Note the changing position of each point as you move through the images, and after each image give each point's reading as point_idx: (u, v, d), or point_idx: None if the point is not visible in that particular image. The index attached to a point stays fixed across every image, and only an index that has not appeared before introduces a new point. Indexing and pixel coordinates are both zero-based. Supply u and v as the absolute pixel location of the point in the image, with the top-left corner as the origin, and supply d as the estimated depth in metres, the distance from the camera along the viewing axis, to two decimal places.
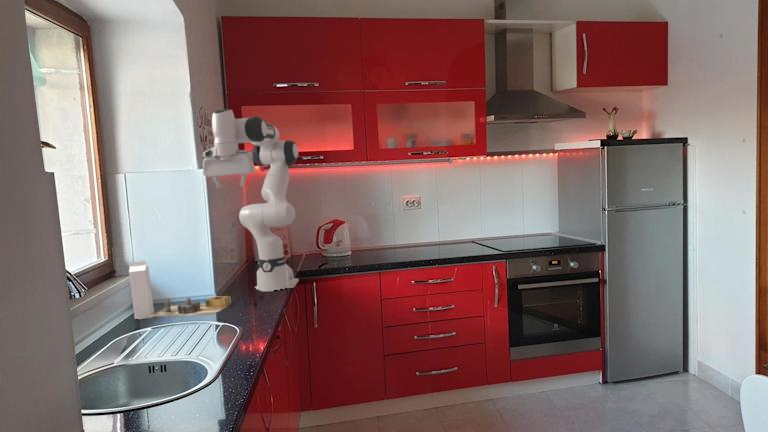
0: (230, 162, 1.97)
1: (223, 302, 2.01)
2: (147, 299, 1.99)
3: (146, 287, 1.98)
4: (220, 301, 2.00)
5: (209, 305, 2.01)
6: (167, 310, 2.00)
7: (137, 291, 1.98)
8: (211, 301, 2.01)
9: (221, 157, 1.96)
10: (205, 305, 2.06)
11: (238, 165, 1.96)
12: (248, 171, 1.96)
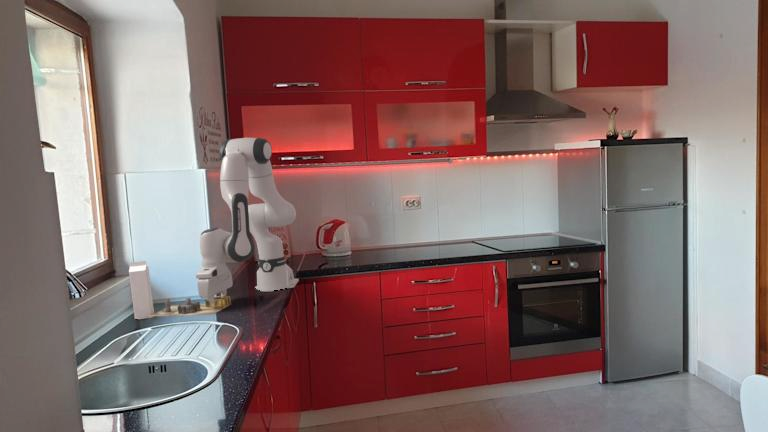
0: (221, 279, 2.04)
1: (223, 302, 2.01)
2: (147, 299, 1.99)
3: (146, 287, 1.98)
4: (220, 301, 2.00)
5: (209, 305, 2.01)
6: (167, 310, 2.00)
7: (137, 291, 1.98)
8: None
9: (220, 275, 2.01)
10: (205, 305, 2.06)
11: (226, 280, 2.08)
12: (231, 284, 2.12)
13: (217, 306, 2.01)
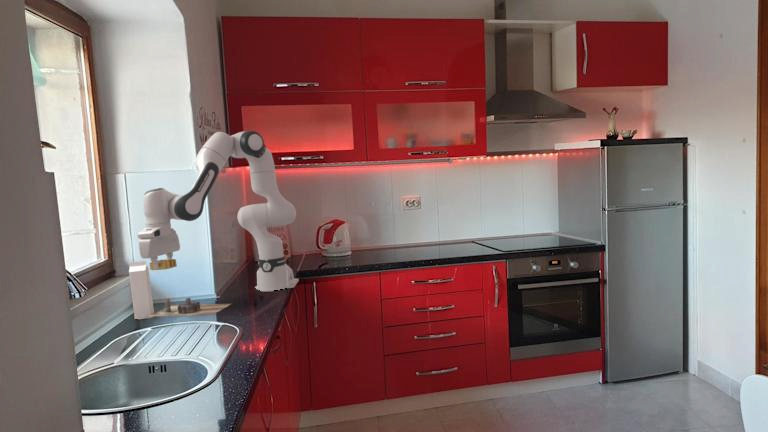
0: (166, 241, 1.99)
1: (167, 264, 1.95)
2: (147, 299, 1.99)
3: (146, 287, 1.98)
4: (164, 263, 1.95)
5: (153, 267, 1.96)
6: (167, 310, 2.00)
7: (137, 291, 1.98)
8: None
9: (165, 236, 1.96)
10: (205, 305, 2.06)
11: (172, 243, 2.03)
12: (179, 248, 2.07)
13: (161, 268, 1.95)
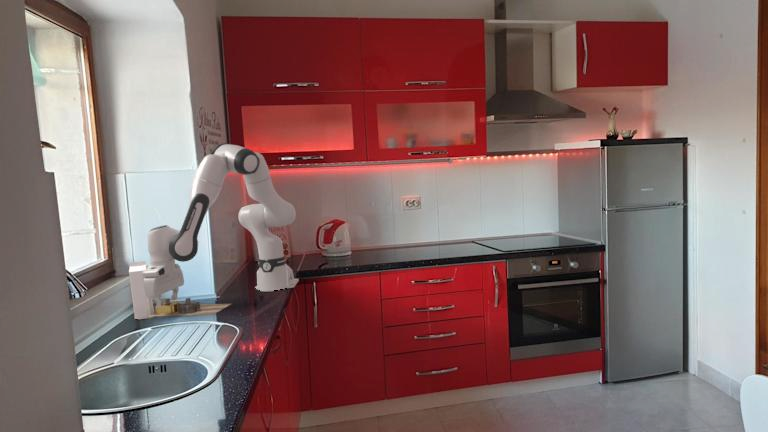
0: (170, 277, 2.01)
1: (173, 308, 1.97)
2: (147, 299, 1.99)
3: None
4: (169, 307, 1.97)
5: (158, 311, 1.98)
6: None
7: (137, 291, 1.98)
8: (160, 307, 1.97)
9: (169, 273, 1.98)
10: (205, 305, 2.06)
11: (176, 279, 2.04)
12: (183, 283, 2.08)
13: (166, 312, 1.97)
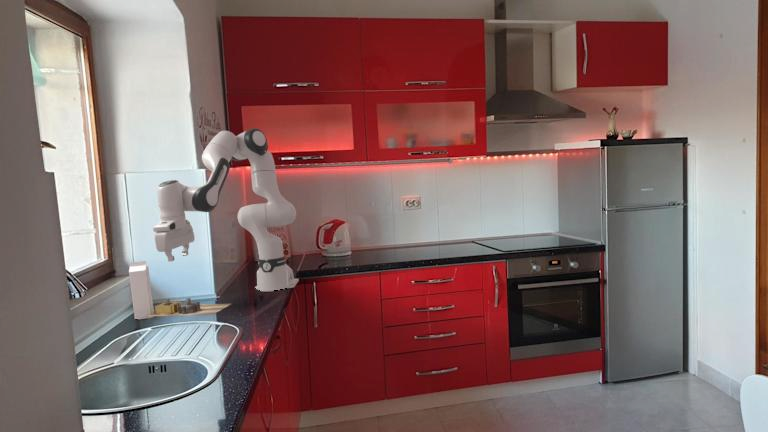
0: (181, 233, 2.00)
1: (173, 308, 1.97)
2: (147, 299, 1.99)
3: (146, 287, 1.98)
4: (169, 307, 1.97)
5: (158, 311, 1.98)
6: None
7: (137, 291, 1.98)
8: (160, 307, 1.97)
9: (180, 229, 1.96)
10: (205, 305, 2.06)
11: (187, 235, 2.03)
12: (193, 239, 2.07)
13: (166, 312, 1.97)
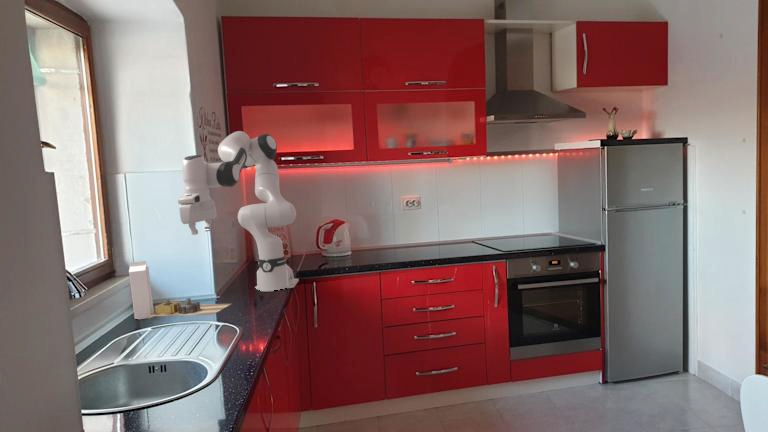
0: (205, 208, 2.00)
1: (173, 308, 1.97)
2: (147, 299, 1.99)
3: (146, 287, 1.98)
4: (169, 307, 1.97)
5: (158, 311, 1.98)
6: None
7: (137, 291, 1.98)
8: (160, 307, 1.97)
9: (204, 203, 1.97)
10: (205, 305, 2.06)
11: (210, 210, 2.03)
12: (215, 216, 2.07)
13: (166, 312, 1.97)
